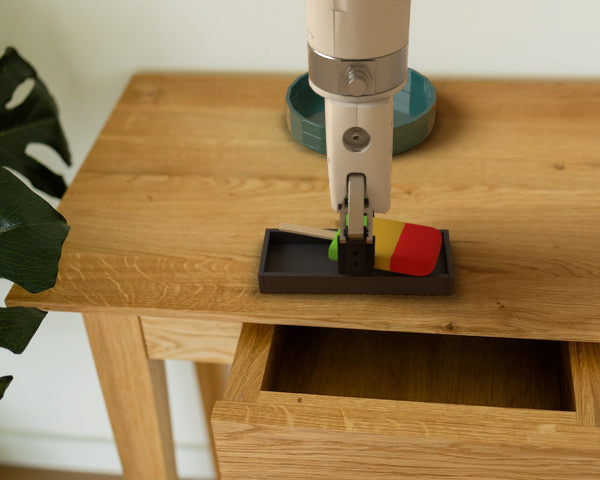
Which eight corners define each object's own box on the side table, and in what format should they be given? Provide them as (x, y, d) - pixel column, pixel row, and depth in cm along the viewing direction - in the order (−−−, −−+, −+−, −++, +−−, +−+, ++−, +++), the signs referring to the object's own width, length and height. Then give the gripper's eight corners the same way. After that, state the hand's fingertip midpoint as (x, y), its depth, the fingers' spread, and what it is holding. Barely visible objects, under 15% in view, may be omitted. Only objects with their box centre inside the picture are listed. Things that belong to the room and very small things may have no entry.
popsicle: (431, 281, 66) (432, 264, 64) (269, 251, 70) (267, 234, 69) (443, 243, 70) (445, 226, 68) (289, 216, 74) (288, 200, 72)
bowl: (432, 86, 97) (434, 60, 95) (436, 160, 84) (438, 132, 82) (295, 85, 99) (294, 59, 97) (279, 157, 86) (277, 130, 84)
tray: (446, 246, 73) (448, 229, 72) (452, 295, 68) (454, 277, 67) (267, 245, 75) (265, 228, 73) (259, 292, 69) (257, 275, 68)
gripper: (412, 118, 51) (400, 313, 63) (404, 15, 64) (395, 193, 76) (300, 119, 51) (310, 312, 64) (314, 16, 64) (320, 193, 76)
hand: (356, 246), depth 69 cm, fingers closed on popsicle, 6 cm apart
